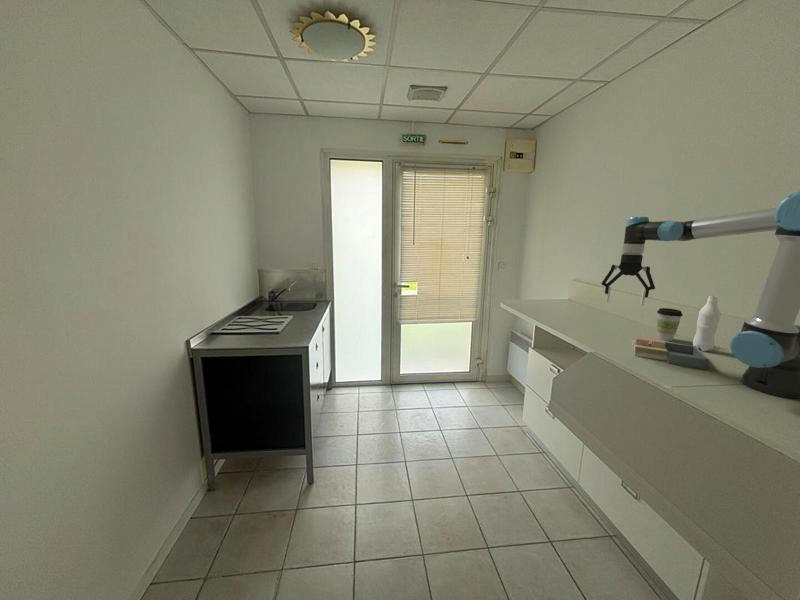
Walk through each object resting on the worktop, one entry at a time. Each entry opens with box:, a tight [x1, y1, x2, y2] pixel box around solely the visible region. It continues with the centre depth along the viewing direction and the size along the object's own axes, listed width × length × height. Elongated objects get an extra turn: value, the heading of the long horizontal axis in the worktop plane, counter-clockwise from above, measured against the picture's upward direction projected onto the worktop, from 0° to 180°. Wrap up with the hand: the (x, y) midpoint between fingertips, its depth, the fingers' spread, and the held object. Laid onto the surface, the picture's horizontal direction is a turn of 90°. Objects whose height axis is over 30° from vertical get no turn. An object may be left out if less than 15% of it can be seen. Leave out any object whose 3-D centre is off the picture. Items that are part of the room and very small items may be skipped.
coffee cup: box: [656, 307, 683, 342], centre depth 163 cm, size 10×10×15 cm
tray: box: [664, 341, 710, 370], centre depth 138 cm, size 18×12×4 cm, turn 150°
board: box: [630, 338, 668, 362], centre depth 143 cm, size 12×11×4 cm
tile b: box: [649, 337, 666, 349], centre depth 141 cm, size 4×4×2 cm
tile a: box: [634, 336, 650, 346], centre depth 144 cm, size 4×4×2 cm
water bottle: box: [692, 294, 722, 352], centre depth 147 cm, size 7×7×25 cm
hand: (624, 303), depth 145 cm, fingers open, 12 cm apart
